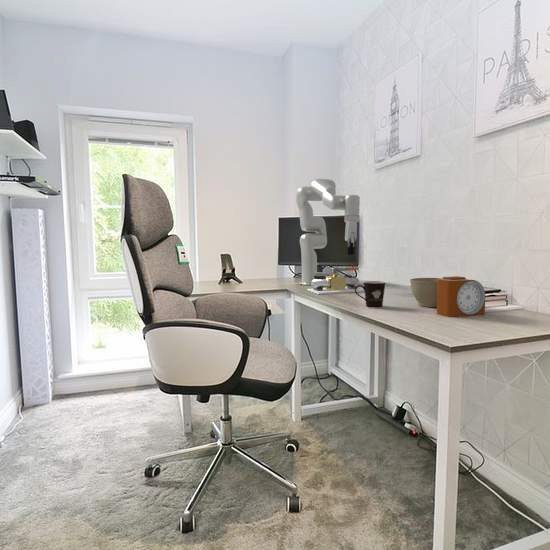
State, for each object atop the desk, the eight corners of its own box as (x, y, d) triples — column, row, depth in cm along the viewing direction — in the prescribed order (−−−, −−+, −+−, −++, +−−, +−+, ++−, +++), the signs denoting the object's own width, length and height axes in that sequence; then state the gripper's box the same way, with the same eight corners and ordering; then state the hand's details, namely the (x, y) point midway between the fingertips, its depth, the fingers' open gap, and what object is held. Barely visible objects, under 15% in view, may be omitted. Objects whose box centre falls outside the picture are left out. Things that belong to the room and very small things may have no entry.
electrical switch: (332, 288, 217) (331, 272, 215) (328, 290, 213) (327, 273, 211) (317, 287, 222) (316, 271, 220) (313, 289, 218) (312, 273, 216)
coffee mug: (386, 305, 158) (386, 281, 157) (383, 308, 150) (383, 283, 149) (358, 303, 162) (358, 280, 162) (354, 307, 155) (354, 282, 154)
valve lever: (333, 271, 200) (333, 268, 200) (330, 270, 204) (330, 267, 204) (358, 270, 205) (358, 267, 205) (354, 269, 209) (354, 266, 209)
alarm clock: (450, 317, 131) (451, 278, 130) (434, 313, 139) (435, 276, 138) (485, 314, 135) (486, 277, 134) (467, 310, 143) (468, 275, 142)
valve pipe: (310, 289, 203) (310, 272, 203) (353, 287, 211) (353, 270, 210) (315, 291, 197) (315, 273, 196) (360, 288, 204) (360, 271, 203)
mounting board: (307, 290, 207) (307, 288, 207) (351, 288, 214) (351, 286, 214) (318, 294, 192) (318, 292, 191) (366, 291, 199) (366, 289, 199)
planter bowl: (435, 301, 164) (436, 276, 164) (461, 308, 149) (462, 280, 148) (402, 303, 161) (402, 278, 160) (424, 310, 145) (425, 282, 144)
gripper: (342, 219, 205) (341, 253, 207) (346, 218, 190) (345, 255, 192) (356, 219, 204) (355, 253, 207) (361, 219, 189) (360, 255, 192)
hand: (350, 254), depth 199 cm, fingers closed
